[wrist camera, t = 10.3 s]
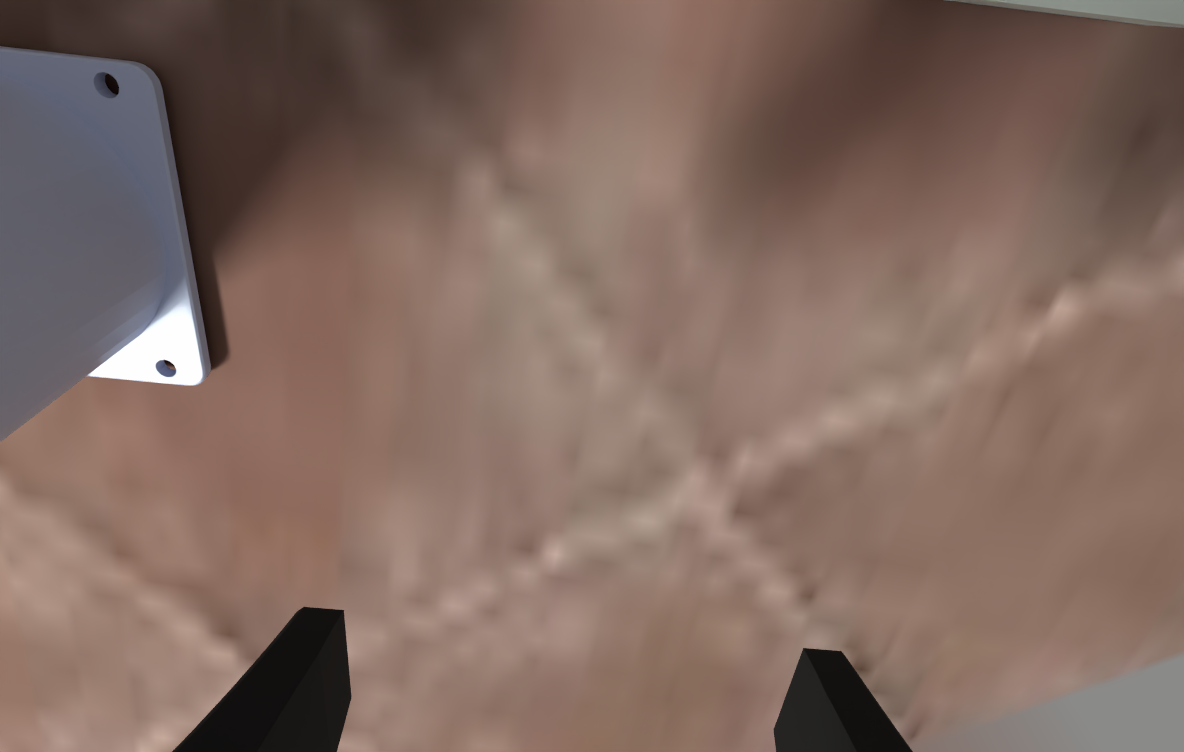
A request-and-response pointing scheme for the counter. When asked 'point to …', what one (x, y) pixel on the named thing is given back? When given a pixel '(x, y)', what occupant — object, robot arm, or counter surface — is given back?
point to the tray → (1102, 9)
